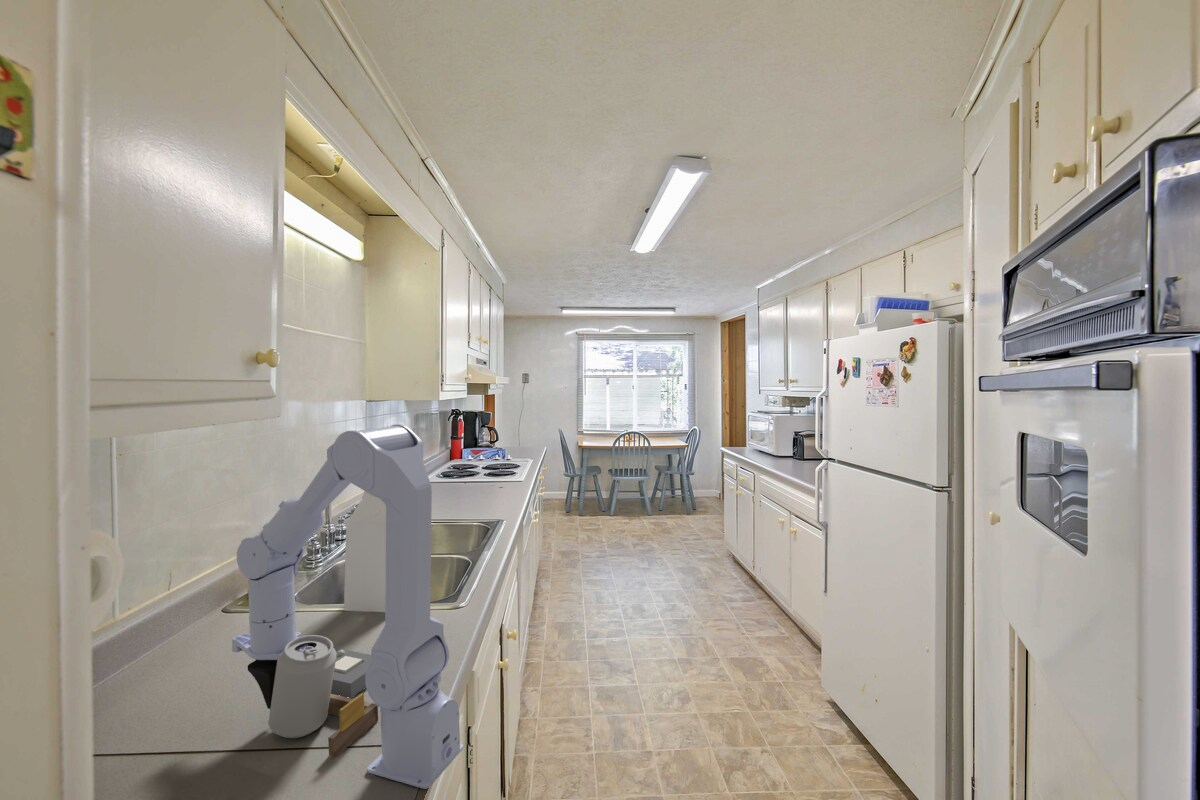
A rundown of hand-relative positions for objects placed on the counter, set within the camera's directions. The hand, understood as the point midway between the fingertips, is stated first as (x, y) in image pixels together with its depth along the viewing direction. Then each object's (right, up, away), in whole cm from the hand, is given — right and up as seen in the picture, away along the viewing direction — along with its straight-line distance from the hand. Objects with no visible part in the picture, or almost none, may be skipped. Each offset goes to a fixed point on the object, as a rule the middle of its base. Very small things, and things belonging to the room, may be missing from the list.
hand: (275, 705), depth 79 cm
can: (+4, -2, -1) cm, 5 cm away
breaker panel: (+5, -2, +11) cm, 12 cm away
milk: (-2, -1, +43) cm, 43 cm away
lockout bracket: (+9, -3, -2) cm, 9 cm away
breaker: (+5, -1, +11) cm, 12 cm away
